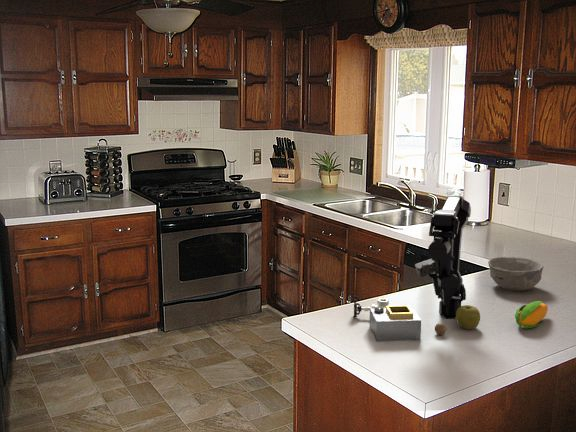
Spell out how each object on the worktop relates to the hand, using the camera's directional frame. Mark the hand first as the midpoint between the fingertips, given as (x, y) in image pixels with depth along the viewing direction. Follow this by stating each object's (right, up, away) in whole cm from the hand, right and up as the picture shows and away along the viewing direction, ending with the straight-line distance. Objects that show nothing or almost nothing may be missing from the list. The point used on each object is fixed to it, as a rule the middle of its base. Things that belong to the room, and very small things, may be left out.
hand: (441, 300), depth 198 cm
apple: (+10, -10, +8) cm, 17 cm away
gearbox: (-14, -11, +4) cm, 19 cm away
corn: (+33, -10, +11) cm, 36 cm away
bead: (0, -11, +2) cm, 12 cm away
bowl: (+40, -2, +48) cm, 63 cm away
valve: (-20, -9, +18) cm, 28 cm away
